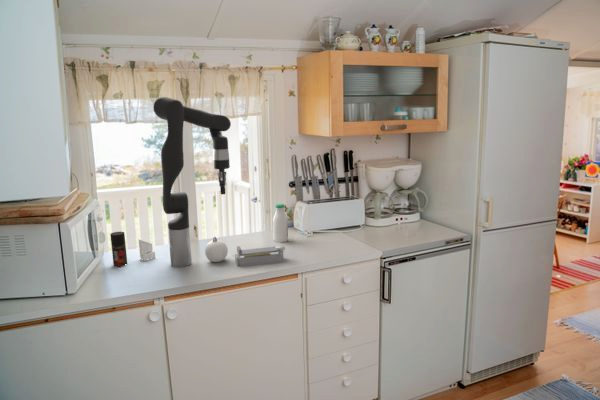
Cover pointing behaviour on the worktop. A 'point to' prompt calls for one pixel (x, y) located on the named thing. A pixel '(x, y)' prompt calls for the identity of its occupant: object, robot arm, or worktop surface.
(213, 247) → the ornament
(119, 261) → the deodorant
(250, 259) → the grey tray
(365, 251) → the worktop surface
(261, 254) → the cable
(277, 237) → the milk bottle
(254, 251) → the cover
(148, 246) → the white wedge bracket
